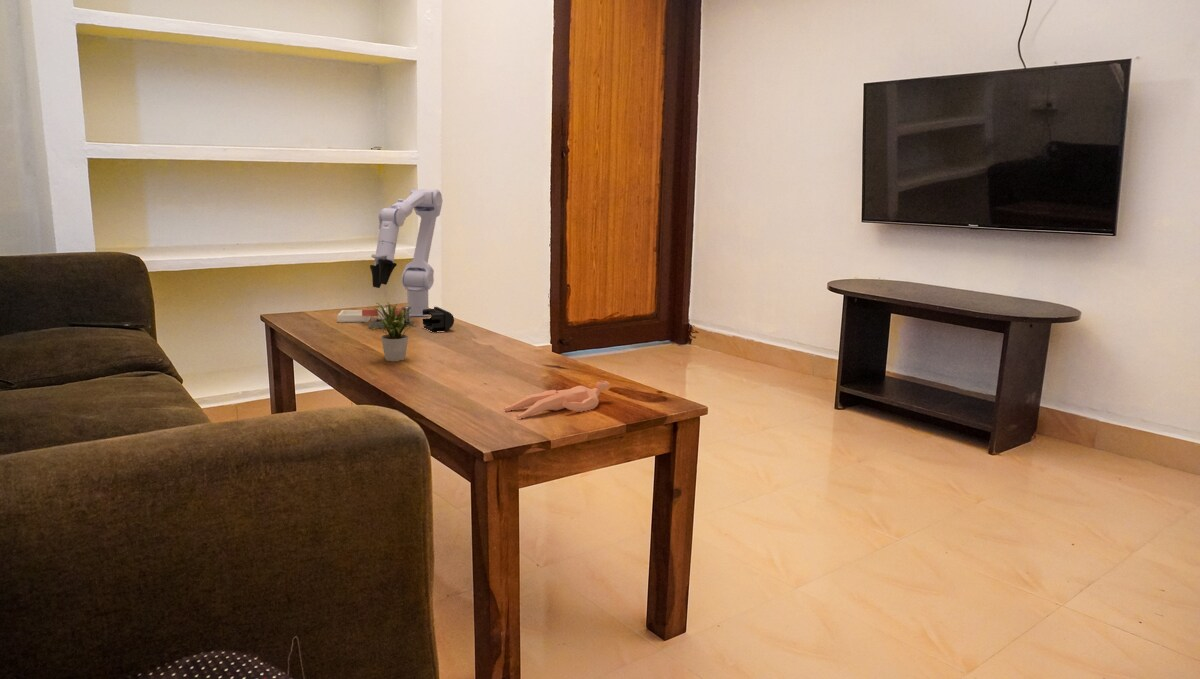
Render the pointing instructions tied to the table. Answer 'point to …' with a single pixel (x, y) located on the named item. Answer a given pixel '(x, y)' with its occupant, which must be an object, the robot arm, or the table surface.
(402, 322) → the keeper post
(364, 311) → the bar
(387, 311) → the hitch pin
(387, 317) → the house plant
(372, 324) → the grey flat square ring
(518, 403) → the male figurine
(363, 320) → the tray
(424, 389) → the table surface
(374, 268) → the robot arm
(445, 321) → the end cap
